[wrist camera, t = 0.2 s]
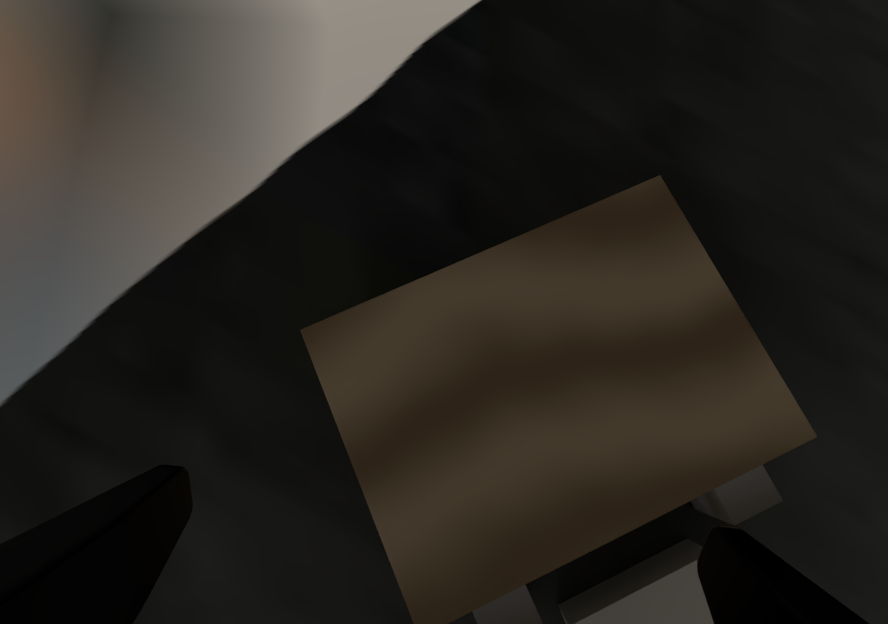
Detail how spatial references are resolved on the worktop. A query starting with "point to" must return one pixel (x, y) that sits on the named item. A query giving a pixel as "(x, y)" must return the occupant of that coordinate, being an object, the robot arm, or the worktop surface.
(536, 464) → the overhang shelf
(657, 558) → the thin gray tile
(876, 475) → the worktop surface
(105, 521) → the robot arm
